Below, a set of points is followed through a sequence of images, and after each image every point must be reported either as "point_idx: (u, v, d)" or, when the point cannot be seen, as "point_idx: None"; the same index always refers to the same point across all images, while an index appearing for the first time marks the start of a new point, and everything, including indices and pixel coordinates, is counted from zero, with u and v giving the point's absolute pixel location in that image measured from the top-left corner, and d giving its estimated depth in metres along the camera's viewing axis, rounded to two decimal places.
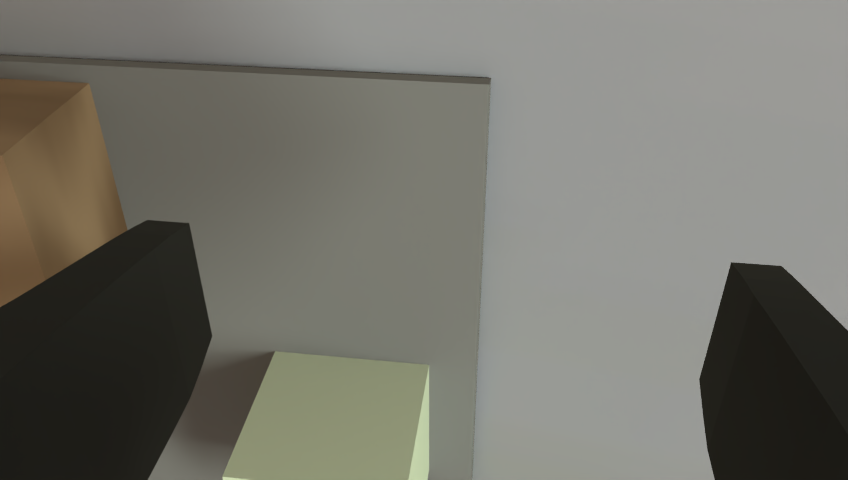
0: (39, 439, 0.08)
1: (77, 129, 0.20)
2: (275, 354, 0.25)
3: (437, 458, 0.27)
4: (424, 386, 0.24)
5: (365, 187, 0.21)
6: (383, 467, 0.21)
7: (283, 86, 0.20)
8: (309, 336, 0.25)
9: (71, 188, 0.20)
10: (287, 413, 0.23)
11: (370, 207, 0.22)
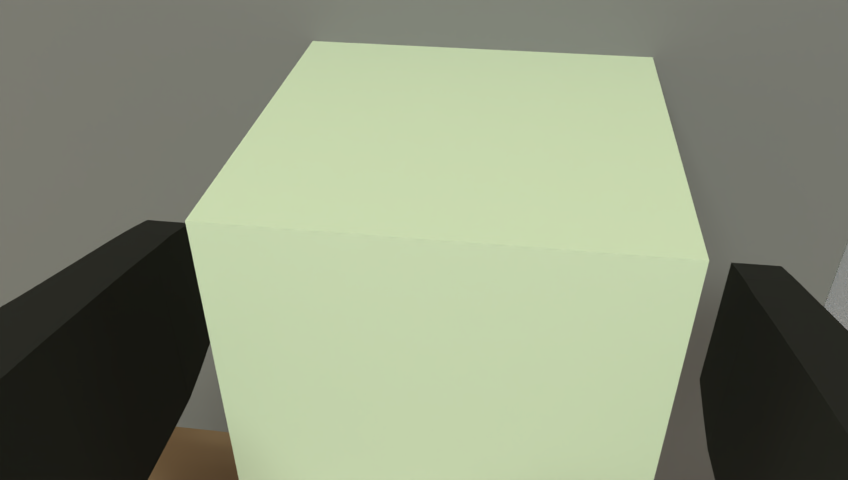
0: (39, 439, 0.08)
1: None
2: None
3: (611, 35, 0.11)
4: (298, 66, 0.11)
5: None
6: None
7: None
8: None
9: None
10: None
11: None
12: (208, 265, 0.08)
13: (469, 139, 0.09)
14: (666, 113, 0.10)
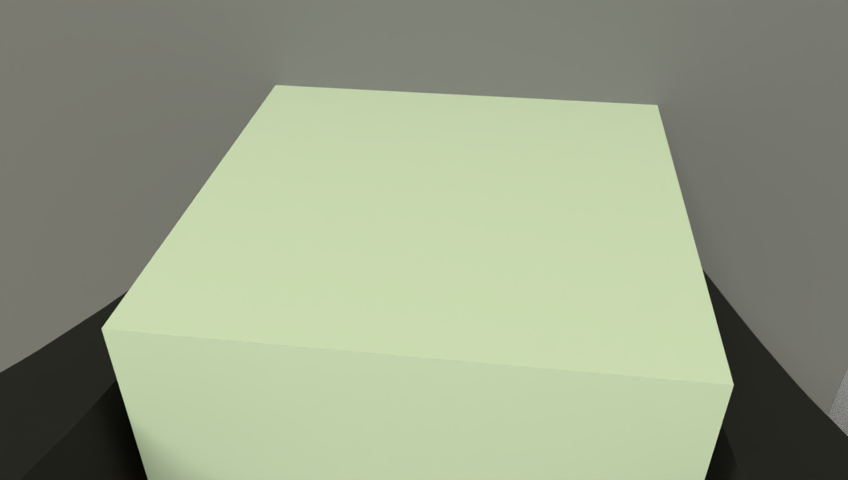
0: (137, 449, 0.08)
1: None
2: None
3: (610, 80, 0.10)
4: (256, 116, 0.10)
5: None
6: None
7: None
8: None
9: None
10: None
11: None
12: (132, 377, 0.07)
13: (446, 214, 0.08)
14: (675, 178, 0.08)
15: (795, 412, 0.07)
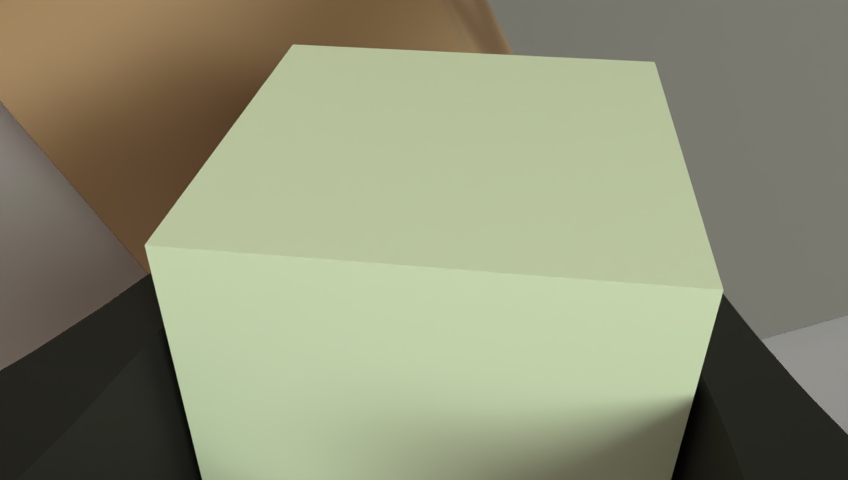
0: (134, 449, 0.08)
1: None
2: None
3: None
4: (276, 71, 0.10)
5: None
6: None
7: None
8: None
9: None
10: None
11: None
12: (171, 293, 0.07)
13: (459, 152, 0.08)
14: (671, 123, 0.09)
15: (797, 412, 0.07)
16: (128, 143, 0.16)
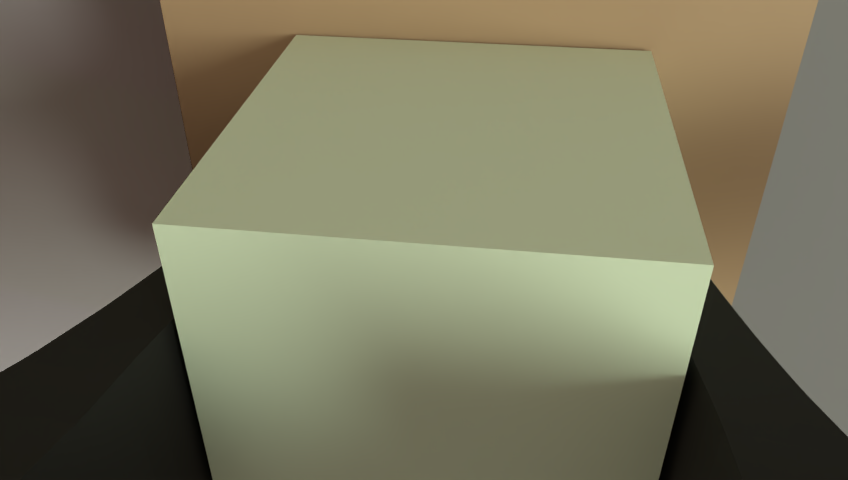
0: (136, 449, 0.08)
1: None
2: None
3: None
4: (279, 60, 0.11)
5: None
6: None
7: None
8: None
9: None
10: None
11: None
12: (178, 270, 0.07)
13: (457, 136, 0.09)
14: (666, 108, 0.09)
15: (795, 412, 0.07)
16: None
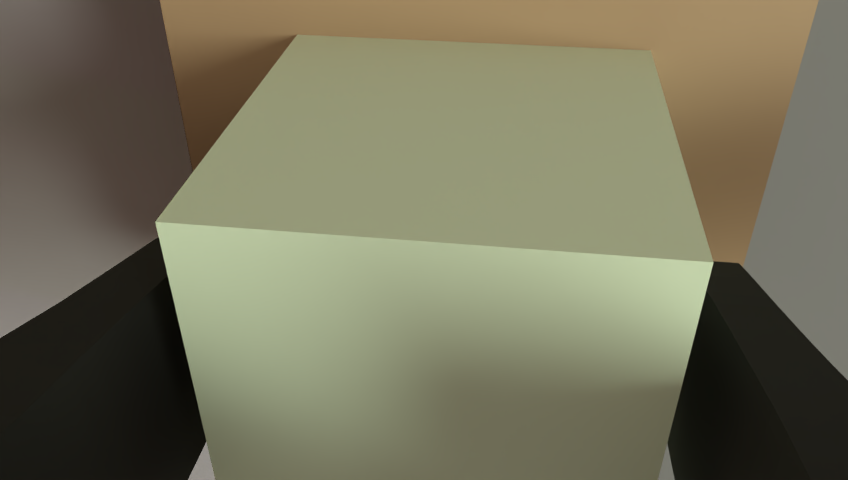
0: (87, 444, 0.08)
1: None
2: None
3: None
4: (281, 60, 0.11)
5: None
6: None
7: None
8: None
9: None
10: None
11: None
12: (181, 269, 0.08)
13: (459, 135, 0.09)
14: (665, 107, 0.09)
15: None
16: None
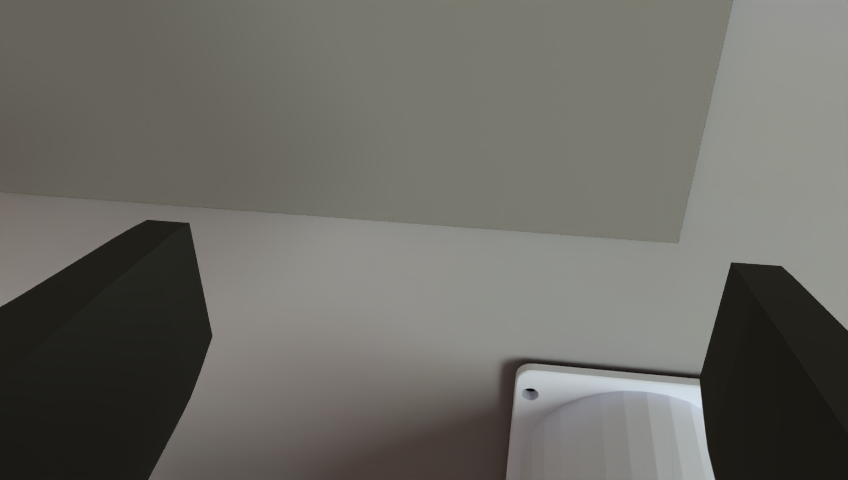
0: (39, 439, 0.08)
1: None
2: None
3: (658, 99, 0.19)
4: None
5: None
6: None
7: None
8: None
9: None
10: None
11: None
12: None
13: None
14: None
15: None
16: None
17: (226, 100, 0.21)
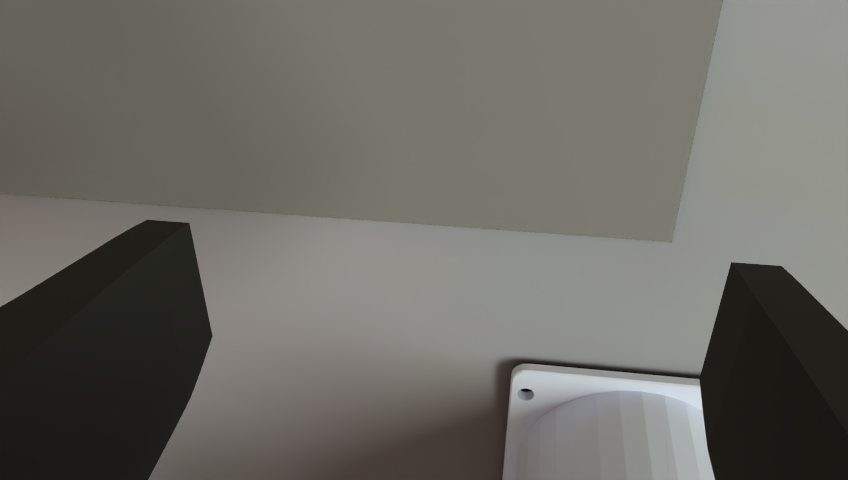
0: (39, 439, 0.08)
1: None
2: None
3: (650, 98, 0.19)
4: None
5: None
6: None
7: None
8: None
9: None
10: None
11: None
12: None
13: None
14: None
15: None
16: None
17: (221, 101, 0.21)
